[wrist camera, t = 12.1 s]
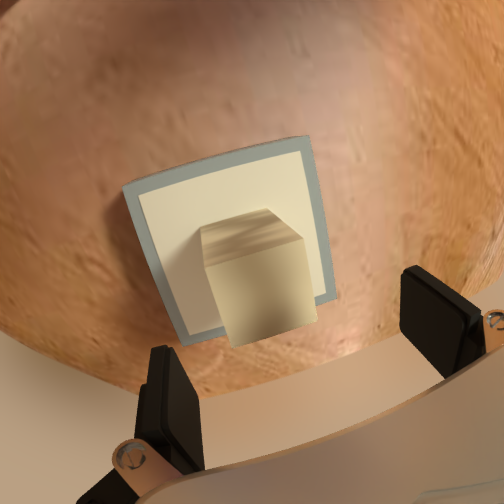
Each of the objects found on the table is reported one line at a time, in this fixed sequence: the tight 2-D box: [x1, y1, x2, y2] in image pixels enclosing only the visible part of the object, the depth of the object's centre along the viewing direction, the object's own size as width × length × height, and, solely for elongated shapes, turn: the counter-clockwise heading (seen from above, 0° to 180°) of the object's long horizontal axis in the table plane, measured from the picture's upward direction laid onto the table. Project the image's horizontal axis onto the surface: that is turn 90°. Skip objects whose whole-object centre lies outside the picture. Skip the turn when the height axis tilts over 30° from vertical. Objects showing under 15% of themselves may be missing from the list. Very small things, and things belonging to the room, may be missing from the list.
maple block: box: [200, 208, 318, 348], centre depth 19 cm, size 5×5×8 cm
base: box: [122, 135, 337, 347], centre depth 25 cm, size 14×14×4 cm
